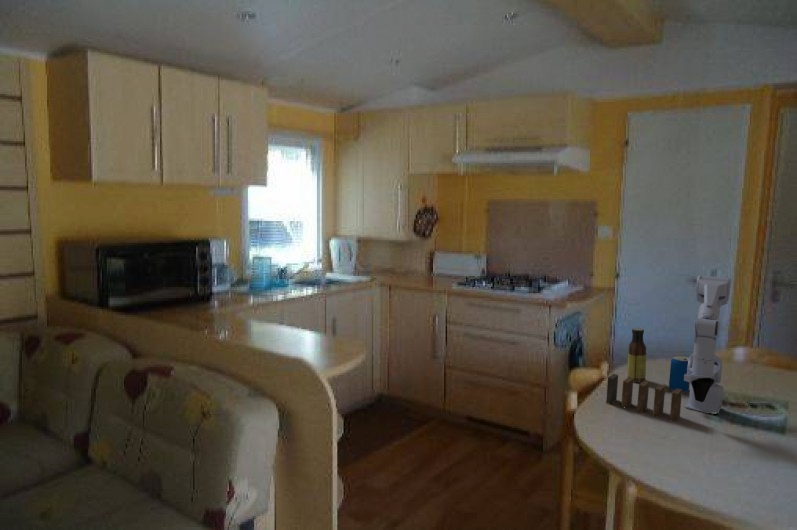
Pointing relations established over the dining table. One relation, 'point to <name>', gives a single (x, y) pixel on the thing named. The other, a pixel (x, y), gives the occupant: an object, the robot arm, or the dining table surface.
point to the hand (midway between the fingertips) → (699, 400)
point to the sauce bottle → (637, 356)
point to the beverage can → (678, 373)
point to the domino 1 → (612, 388)
